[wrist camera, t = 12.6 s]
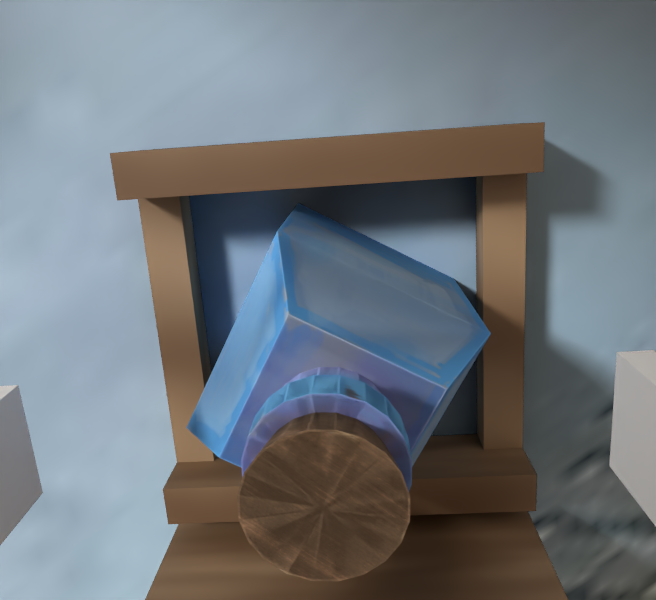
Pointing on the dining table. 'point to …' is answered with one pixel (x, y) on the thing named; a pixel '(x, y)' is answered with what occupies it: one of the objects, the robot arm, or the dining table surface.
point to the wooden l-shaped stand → (440, 451)
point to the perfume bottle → (334, 394)
